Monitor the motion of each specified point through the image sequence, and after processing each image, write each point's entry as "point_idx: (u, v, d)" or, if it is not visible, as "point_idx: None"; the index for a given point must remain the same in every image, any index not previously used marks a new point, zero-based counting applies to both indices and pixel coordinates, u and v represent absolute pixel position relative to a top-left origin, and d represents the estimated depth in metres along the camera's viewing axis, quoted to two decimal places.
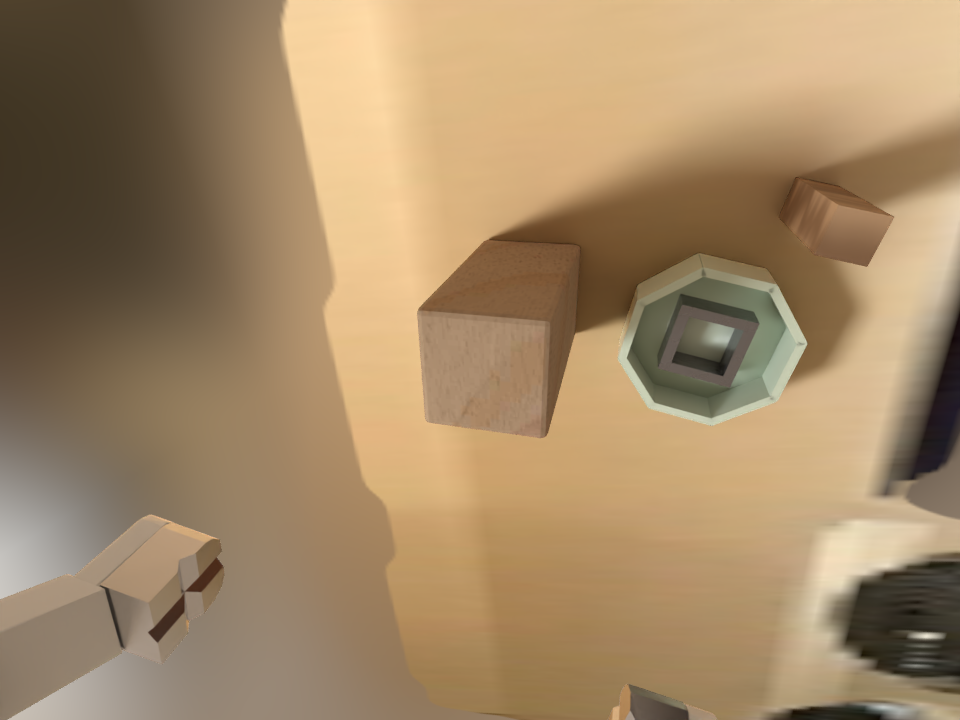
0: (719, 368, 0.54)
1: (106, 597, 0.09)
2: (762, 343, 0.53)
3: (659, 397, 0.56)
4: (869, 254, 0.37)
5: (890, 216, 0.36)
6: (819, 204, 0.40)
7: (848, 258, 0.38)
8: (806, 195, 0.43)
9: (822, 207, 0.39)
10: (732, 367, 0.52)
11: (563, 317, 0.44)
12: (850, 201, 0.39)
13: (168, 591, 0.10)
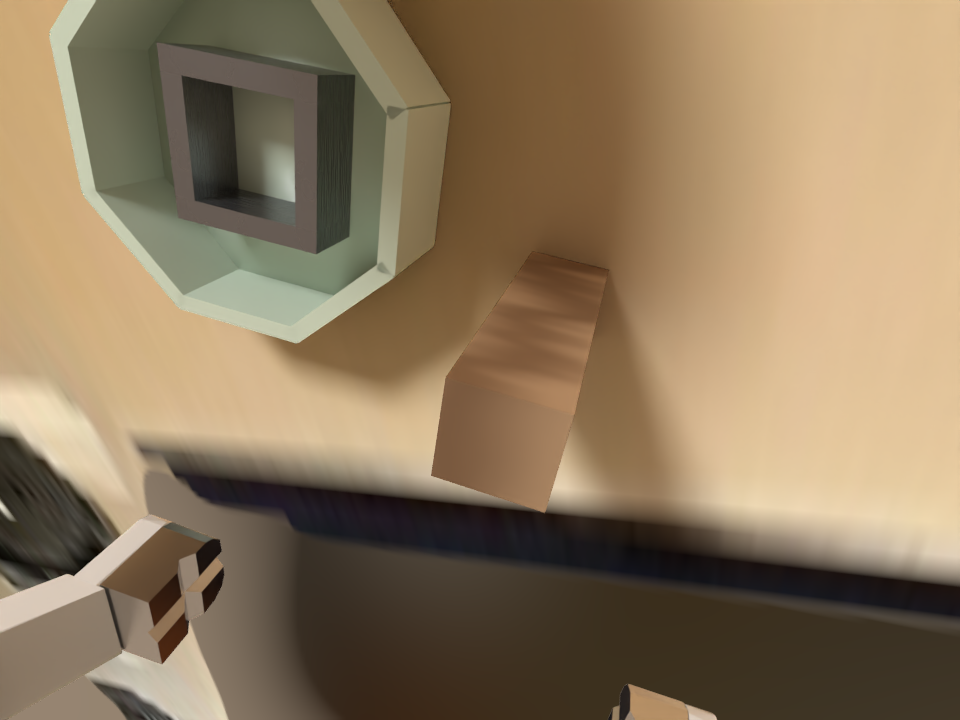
0: (218, 190, 0.25)
1: (106, 597, 0.09)
2: (295, 260, 0.28)
3: (101, 63, 0.23)
4: (458, 477, 0.16)
5: None
6: (567, 348, 0.17)
7: (444, 443, 0.16)
8: (580, 306, 0.20)
9: (562, 360, 0.16)
10: (218, 216, 0.24)
11: None
12: None
13: (168, 591, 0.10)
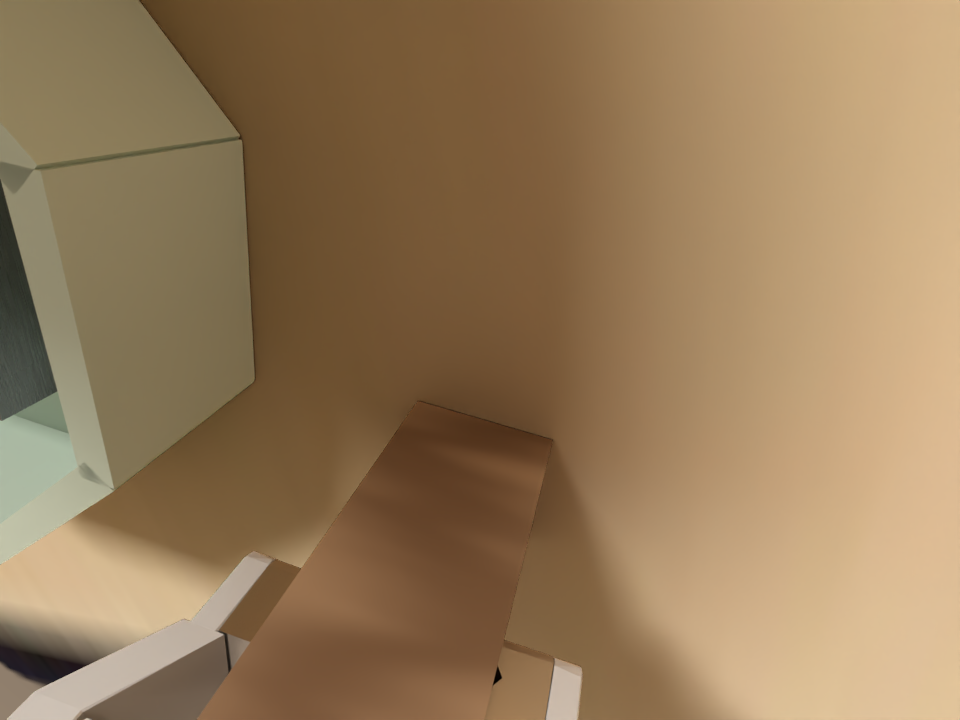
0: None
1: (225, 643, 0.09)
2: None
3: None
4: None
5: None
6: None
7: None
8: (472, 593, 0.09)
9: None
10: None
11: None
12: None
13: None
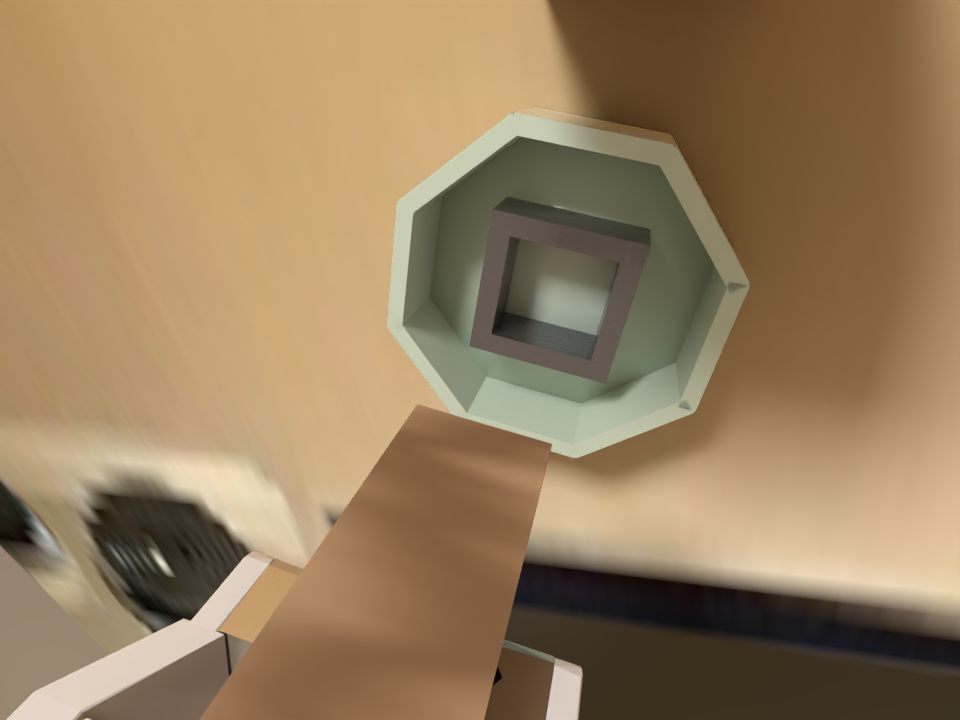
0: (499, 318, 0.28)
1: (225, 643, 0.09)
2: (547, 372, 0.30)
3: (423, 218, 0.26)
4: None
5: None
6: None
7: None
8: (471, 598, 0.09)
9: None
10: (511, 348, 0.27)
11: None
12: None
13: None
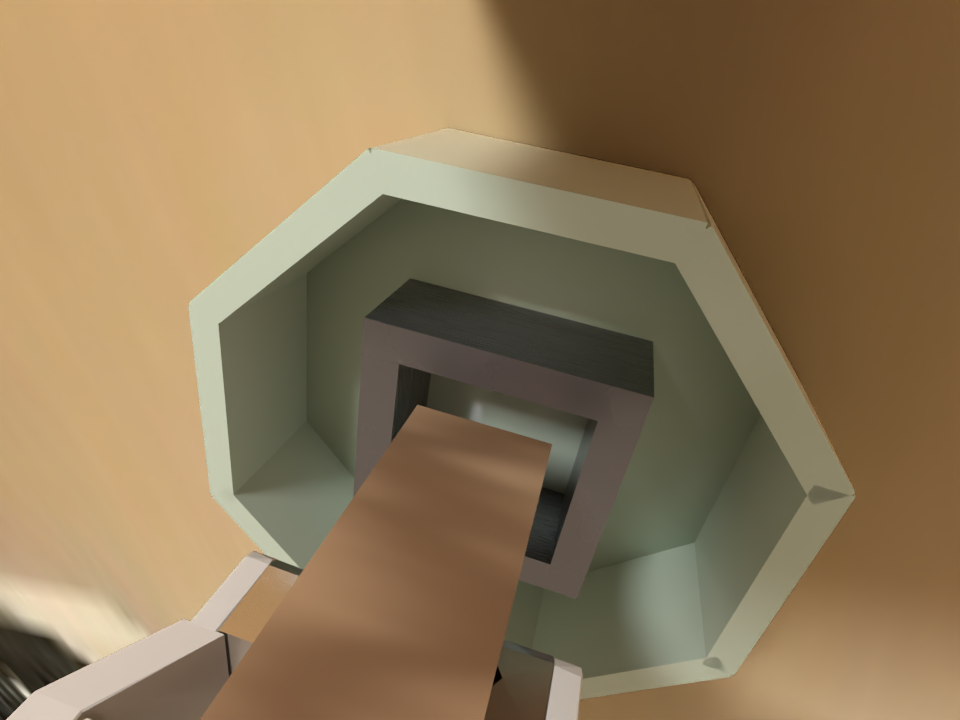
0: None
1: (225, 643, 0.09)
2: None
3: (255, 322, 0.15)
4: None
5: None
6: None
7: None
8: (471, 598, 0.09)
9: None
10: None
11: None
12: None
13: None
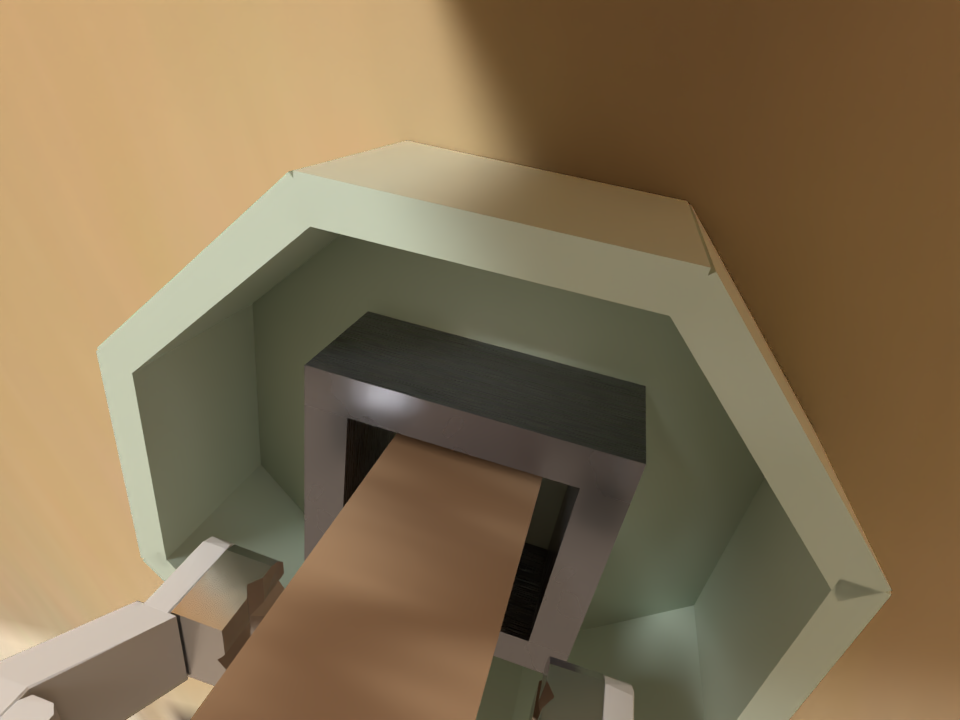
0: None
1: (177, 624, 0.09)
2: None
3: (185, 365, 0.13)
4: None
5: None
6: None
7: None
8: (476, 569, 0.10)
9: None
10: None
11: None
12: None
13: (238, 617, 0.09)
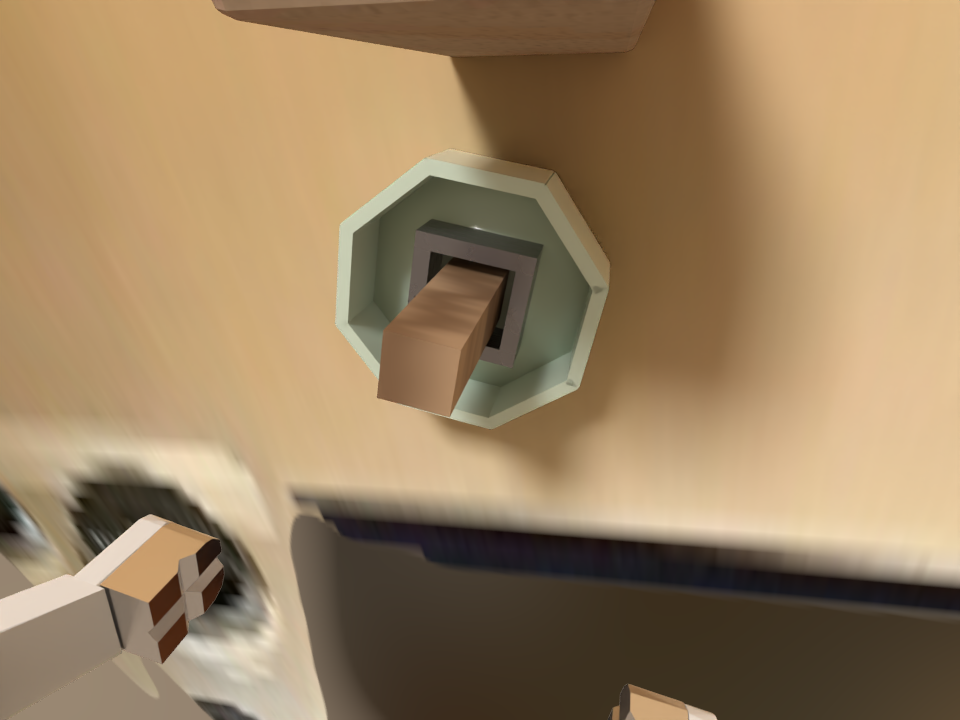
0: None
1: (106, 597, 0.09)
2: None
3: (362, 236, 0.32)
4: (394, 397, 0.25)
5: (450, 412, 0.25)
6: (466, 315, 0.26)
7: (384, 374, 0.24)
8: (482, 290, 0.29)
9: (460, 322, 0.25)
10: None
11: (560, 32, 0.17)
12: (472, 353, 0.27)
13: (168, 591, 0.10)
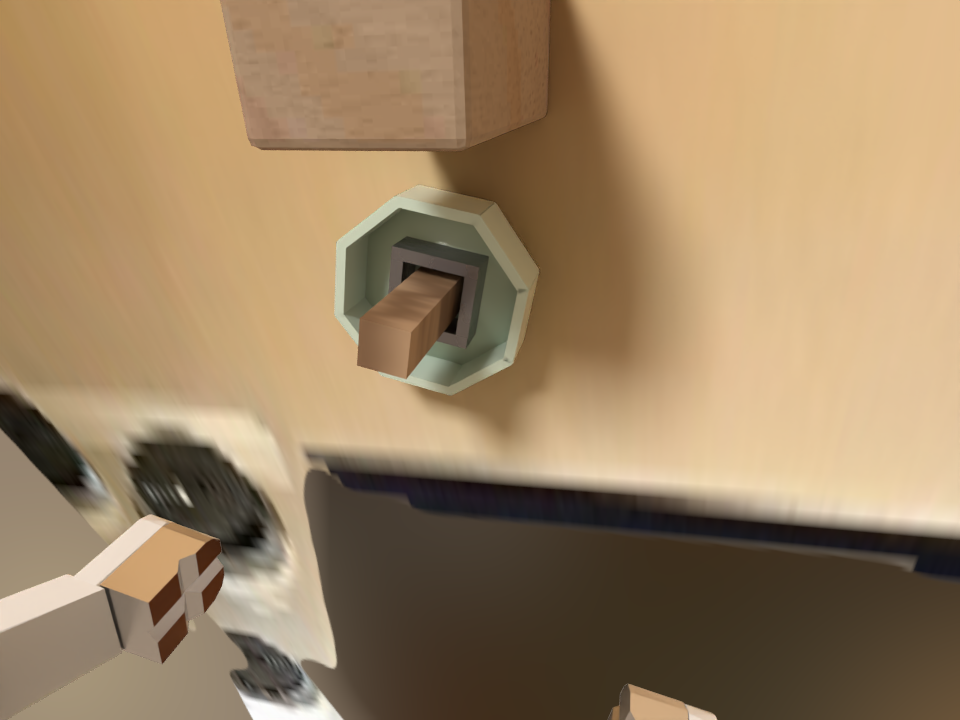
0: None
1: (106, 597, 0.09)
2: (440, 345, 0.48)
3: (354, 250, 0.43)
4: (368, 365, 0.36)
5: (406, 376, 0.36)
6: (421, 308, 0.37)
7: (361, 348, 0.36)
8: (437, 291, 0.40)
9: (415, 313, 0.36)
10: None
11: None
12: (426, 335, 0.38)
13: (168, 591, 0.10)
